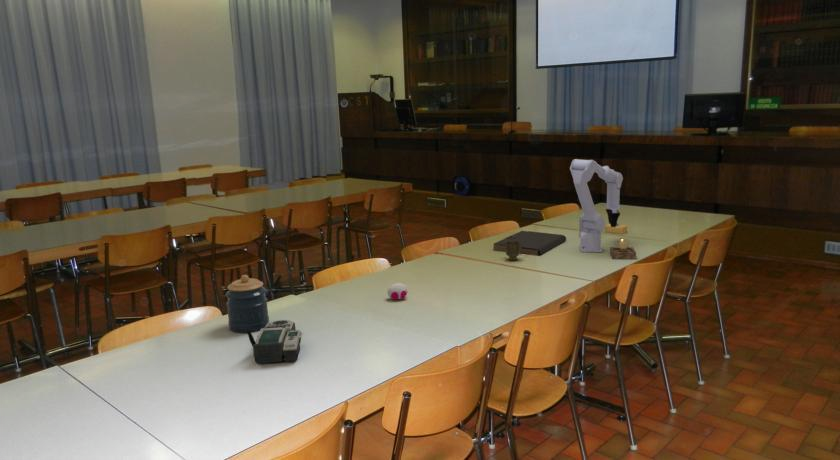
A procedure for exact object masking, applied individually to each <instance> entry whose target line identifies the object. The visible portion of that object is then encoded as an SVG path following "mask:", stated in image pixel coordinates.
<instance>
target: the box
mask: <svg viewBox="0 0 840 460" xmlns="http://www.w3.org/2000/svg"><path fill="white" fill-rule="evenodd" d="M609 255H610V257H611V259H612V260H637V252H636V250H635V248H634V247H632V246H630V247H629V246H626V252H619V246H610V247H609Z"/></svg>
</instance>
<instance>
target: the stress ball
mask: <svg viewBox="0 0 840 460" xmlns="http://www.w3.org/2000/svg"><path fill="white" fill-rule="evenodd" d="M408 289H409V288H408V287H407V286H406V285H405V284H403V283H400V282H399V283H398V282H397V283H393V284H391V285H389V286H388V288H387V291H386V292H387V296H388V297H389V298H390V299H392V300H399V301H401V299H404V298H405V297H407V296H408V294H409V293H408V291H409V290H408Z"/></svg>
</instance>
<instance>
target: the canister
mask: <svg viewBox="0 0 840 460" xmlns="http://www.w3.org/2000/svg"><path fill="white" fill-rule="evenodd" d="M227 289H228V291H226V293H225V297H226V298H227V302H226V307H227V309H226V310H227V317H228V318H227V319H228V322H227V323H228V328H229V329H230V331H232V332H234V333H243V334H245V333H247V330H250V332H251V333H253V332H258V331H260V329H262V328H264V327H265V326H266V325H267V324H268V323H270V316H269V310H268V297H266V293H267V288H266V287H264V282H263V281H261V280H259V279H258V278H253V277H251V278H250V277H249V275H247V274H242V275H241V277H240V278H239V279H236V280H234V281H232V282H231V283H230V284H229V285H227Z"/></svg>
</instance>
